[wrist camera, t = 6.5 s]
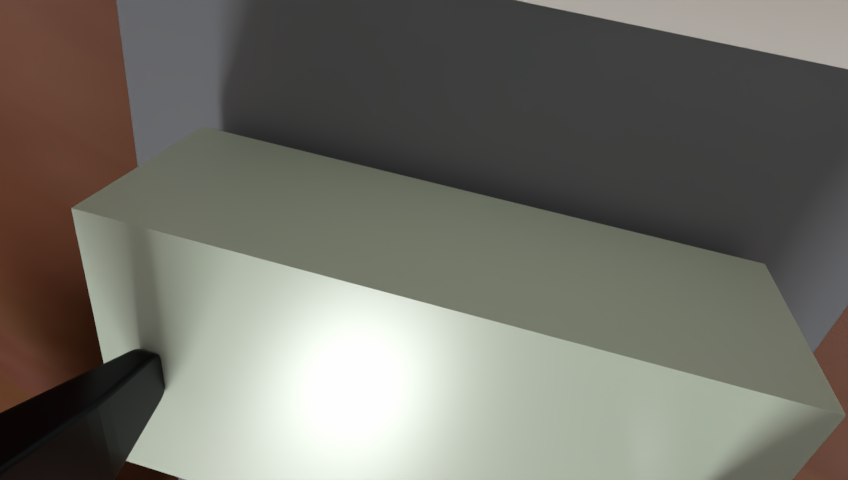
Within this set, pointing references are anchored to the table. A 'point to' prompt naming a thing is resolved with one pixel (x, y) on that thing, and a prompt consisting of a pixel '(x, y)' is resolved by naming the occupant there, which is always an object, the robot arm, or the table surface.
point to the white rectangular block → (736, 23)
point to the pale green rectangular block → (432, 331)
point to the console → (524, 117)
